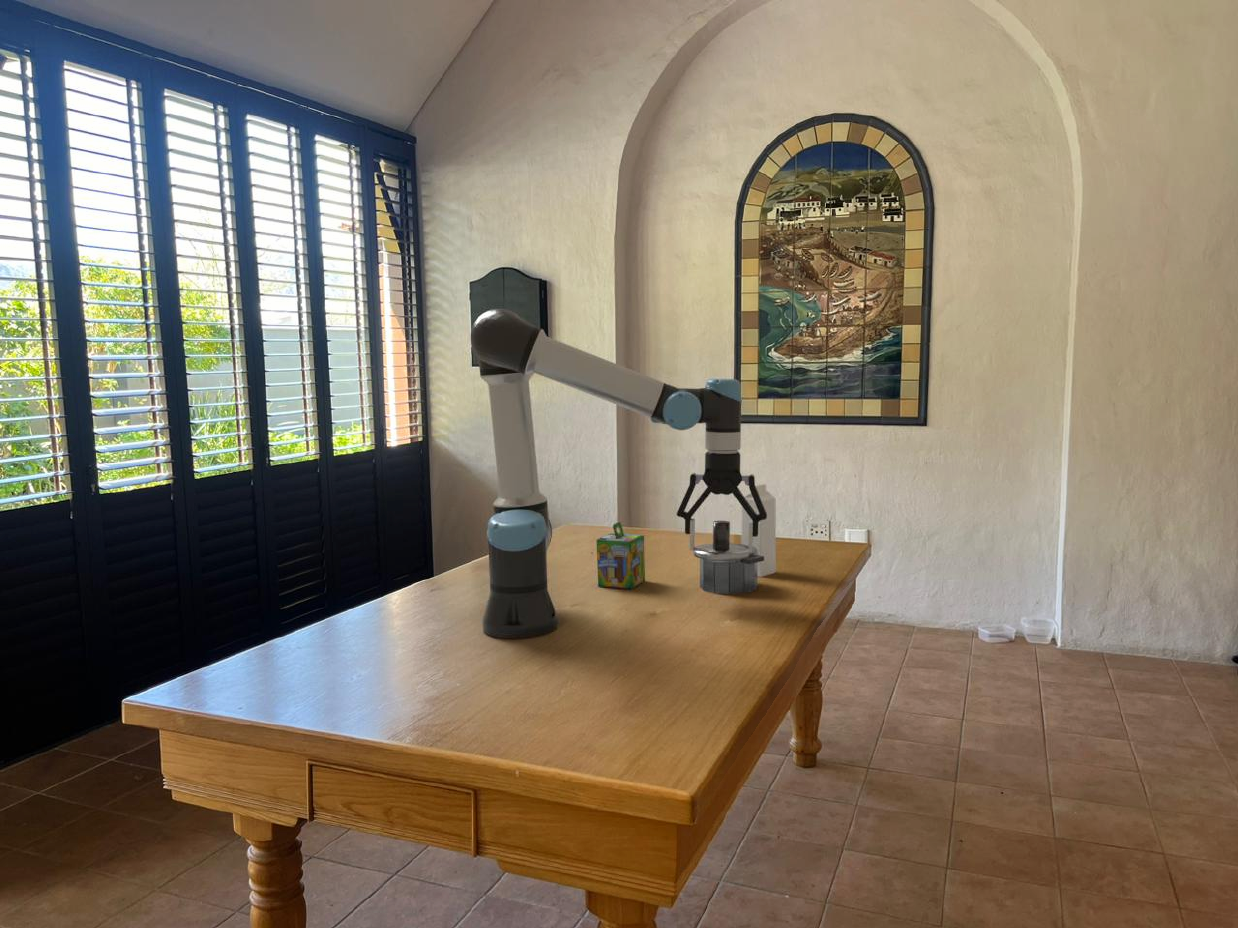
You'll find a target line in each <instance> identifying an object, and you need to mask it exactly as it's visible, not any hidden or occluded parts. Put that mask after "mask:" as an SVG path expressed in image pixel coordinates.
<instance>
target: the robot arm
mask: <svg viewBox="0 0 1238 928" xmlns="http://www.w3.org/2000/svg"><path fill="white" fill-rule="evenodd" d="M470 344H471V348H472V350H473V351H474V353H475V356H476V357H478V368H479V376H480V378H481V379H482V380H483V381H484V382H486V384H487V385H488V394H489V395H488V396H489V403H490V405H489V406H490V415H491V425H492V434H493V435H492V436H493V444H494V453H495V462H496V463H495V464H496V473H497V484H498V491H499V492H498V493H499V495H498V497H497V498H496V499H495V501H494V502H493V504H492V505H493V515H492V516H491V517H490V519H488V522H487V531H486V537H487V541H488V543H487V545H488V548H487V550H488V570H489V571H488V572H489V595H488V599H487V604H486V605H485V611H484V614H483V617H482V631H483V633H484V634H486V635H488V636H490V637H494V638H499V639H526V638H527V639H528V638H536V637H540V636H544V635H548V634H550V633H551V632H553V631H555V630H557V628H558V615H557V612H556V609H555V606H554V604H553V601H552V598H551V595H550V593H549V589H548V567H547V566H548V563H547V562H548V561H547V558H548V557H547V551H548V549H549V547H550V545H551V541H552V538H553V526H552V523H551V519H550V518H549V517H550V516H549V509H548V498H547V496H545V495H544V494H543V493H541V491H540V487H539V486H540V484H539V477H538V475H539V474H538V465H537V457H536V456H537V455H536V444H535V443H536V442H535V432H534V422H533V412H532V410H533V409H532V402H531V392H530V380H531V379H532V377H533V376H534V374H537V375H540V376H542V377H544V378H546V379H550V380H552V381H554V382H557V383H560V384H563V385H564V386H566V387H567V386H568V387H570V388H573V389H576V390H578V391H580V392H583V393H586V394H589V395H591V396H594V397H596V398H599V399H602V400H604V401H607V402H609V403H612V404H615V405H617V406H620V407H622V408H625V409H627V410H630V411H632V412H635V413H637V414H640V415H642V416H644V417H648V418H650V421H651V422H652V423H653V424H662V425H667V426H669V427H670V428H671V429H674V430H677V431H686V430H689V429H691V428H694V427H695V426H696V425H697V424H705V435H704V436H705V438H704V439H705V443H704V445H705V446H704V447H705V450H706V452H705V453H704V473H703V474H698V473H696V472H692V473H691V474H690V477H689V485H688V488H687V490H686V491H685V493H684V496H683V497H682V500H681V503H680V505H679V507H678V509H677V512H676V516H677V517H679V518H682V519H684V533H685V535H689V551H693V549H694V547H695V538H696V537H695V534H696V533H695V532H696V530H695V529H696V518H692V517H693V516H694V514H696V512H697V511H698V510H699V508H701V505H702V504H703V503H704V502H705V501H706V499H708V497H709V496H710V495H711V493H712V494H714V495H725V496H726V495H727V496H729V495H731V494H732V495H733V496H734V498H736V500H737V501H738V502H739V504H740V505H741V508H742V507H743V508H744V509H745V511H746V512H747V514H748V515H749V516H750V518H751V519H752V520H753V521H752V520H750V521H749V552H748V553H752V550H753V537H757V536H758V523H759V521H761V520H765V519H766V518H767V513H766V511H765V508H764V506H763V503H762V501H761V498H760V496H759V494H758V491H757V489H756V486H757V485H756V480H755V479H756V478H755V475H754V474H749V475H742V474H741V453H740V452H739V451H740V450H741V447H742V446H741V444H742V443H741V442H742V440H741V439H742V432H741V431H742V430H741V429H742V428H741V426H742V403H743V400H742V384H741V382H740V381H739V380H738V379H735V378H734V379H733V378H709V379H707V380H706V384H705V386H704V387H702V388H687V387H685V388H681V387H676V386H673V385H671V384H668V383H665V382H664V381H660V380H658V379H656V378H653V377H651V376H647V375H645V374H644V373H643V374H642V373H641V372H638V371H635V370H633V369H630V368H628V367H625V366H622V365H620V364H617V363H615V362H612V361H610V360H608V359H605V358H602V357H600V356H597V355H595V354H592V353H590V352H587V351H585V350H582V349H579V348H577V347H574V346H571V345H569V344H567V343H565V342H561V341H559V340H557V339H554V338H552V337H548V336H547V334H546V333H545V330H544V329H543V328H541V327H538V326H535V325H533V324H530V322H529V321H528V320H527V318H525V317H524V316H523V315H522V314H520V313H518V312H516V311H512V310H510V309H509V310H508V309H504V308H493V309H490V310H487V311H485V312H483V313H482V314H480V315H479V316H478V317H477V319H476V320H475V321H474V323H473V325H472V326H471V331H470ZM701 481H703V482H704V484H705V485H706V488H705V490H704V491H703V492H702V494H701V495H700V496H699V497H698V499H697V500H696V501H695V503H694V504H693V505H692V506H691V507H690V509H689V510H688V511H685V510H686V509H687V506H688V503H689V501H690V499H691V497H692V494H693V492H694V490H695V487H696V485H699V483H700V482H701ZM742 482H744V484H745V486H748V488H749V492H750V493H751V494H752V496H753V499H754V501H755V504H756V506H757V509H758V511H759V514H758V515H757V514H756V513H755V511H754V510H753V508H752V507H751V506H750V504H749V503H748V502H747V500H746V499H745V495H743V493H742V491H741V490H740V488H739V485H740V484H741V483H742Z"/></svg>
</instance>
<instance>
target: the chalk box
mask: <svg viewBox="0 0 1238 928" xmlns="http://www.w3.org/2000/svg"><path fill="white" fill-rule="evenodd" d="M612 528H613V529H612V530H613V533H608V534H606V535H603V536H601V537H598V538H597V539H596V561H597V562H596V565H597V587H599V588H600V587H601V588H616V589H617V588H618V589H619V588H620V589H630V590H631V589H632V590H633V589H634V588H635V587H637V586H639V585H640V584H642V583H644V582H645V581H646V569H645V568H646V567H645V565H646V563H645V535H642V534H632V533H624V529H623V526H622V523H621V522H620V521H618V522H615V523H613V525H612ZM617 529H619V532H618V531H617Z"/></svg>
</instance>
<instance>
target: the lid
mask: <svg viewBox="0 0 1238 928" xmlns="http://www.w3.org/2000/svg"><path fill="white" fill-rule="evenodd" d="M730 534H731V521H728V520H714V521H713V522H712V543H704V544H699V545H696V546H694V549H693V550H692V551H693V553H692V554H693V556H694V557H696V558H699V559H700V558H701V559H703V560H704V561H707V562H711V563H735V562H738V561H739V560H742V559H745V558H747V557H749V553H748V552H749V549H748V548H746V547H743V546H739V545H733V544H734V543H733V544H730V540H731V539H730V537H731V535H730Z"/></svg>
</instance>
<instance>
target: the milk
mask: <svg viewBox="0 0 1238 928" xmlns="http://www.w3.org/2000/svg"><path fill="white" fill-rule="evenodd" d="M755 486H756V489H757V491H758V494H759V496H760V498H761V501H762V503H763V506H764V508H765V511H766V513H767V518H766V519H765V520H761V521H759V523H758V536H757V537H753V547H755V548H756V549H757V555H760V556H764V561H761V562H757V578H758V577H759V578H762V577H766V576H771V575H773V574H776V569H777V568H776V567H777V564H776V563H777V562H776V559H777V557H776V547H777V546H776V544H777V543H776V541H777V540H776V539H777V538H776V537H777V534H776V527H777V526H776V524H777V523H776V510H777V509H776V498H775V496H774V495H772V494H771V493H770V492H769V491H768V490H767V484H765V483H764V484H759V485H755ZM744 497H745V499H746V500H747V502H748V503H749V504H750V506H751V507H752V508H753V510H754V511H755V513H756V514H757V515H758V514H759V511H758V509H757V506H756V504H755V501H754V499H753V496H752V494H751V492H750V493H748V494H747V495H744ZM750 520H752V519H751V518H750V516H749V515H748V514H747V512H746V511H745V509H744V508H743V507H742V506H741V544H745V545H749V521H750ZM752 521H753V520H752Z"/></svg>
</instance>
